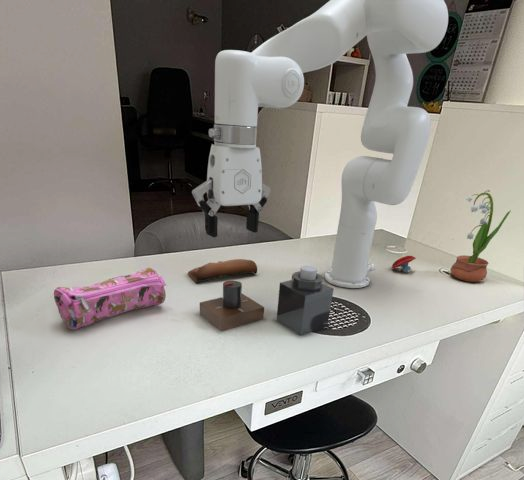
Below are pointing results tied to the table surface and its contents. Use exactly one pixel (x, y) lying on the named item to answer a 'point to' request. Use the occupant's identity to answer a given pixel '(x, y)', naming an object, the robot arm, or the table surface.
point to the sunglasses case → (223, 269)
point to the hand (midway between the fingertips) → (232, 233)
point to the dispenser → (304, 304)
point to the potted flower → (477, 246)
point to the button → (403, 263)
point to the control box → (231, 313)
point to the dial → (232, 294)
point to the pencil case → (109, 298)
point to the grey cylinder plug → (308, 272)
